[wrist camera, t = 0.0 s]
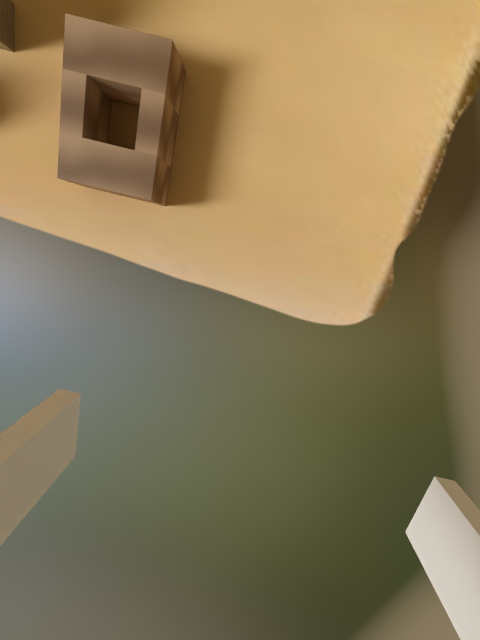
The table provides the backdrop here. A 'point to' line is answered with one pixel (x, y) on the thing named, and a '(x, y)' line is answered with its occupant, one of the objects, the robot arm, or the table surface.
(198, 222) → the table surface
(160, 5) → the table surface
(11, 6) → the square bit
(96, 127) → the bore block
